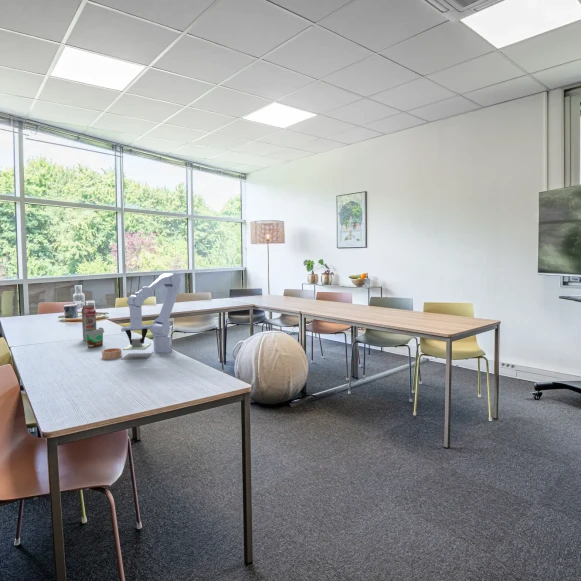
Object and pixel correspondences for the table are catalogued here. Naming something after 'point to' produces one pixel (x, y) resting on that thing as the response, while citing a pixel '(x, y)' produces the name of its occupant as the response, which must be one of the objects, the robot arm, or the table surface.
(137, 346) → the sheet lid
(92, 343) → the food container
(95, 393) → the table surface
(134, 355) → the mat
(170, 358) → the table surface
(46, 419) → the table surface
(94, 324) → the juice carton
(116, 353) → the tan bowl
